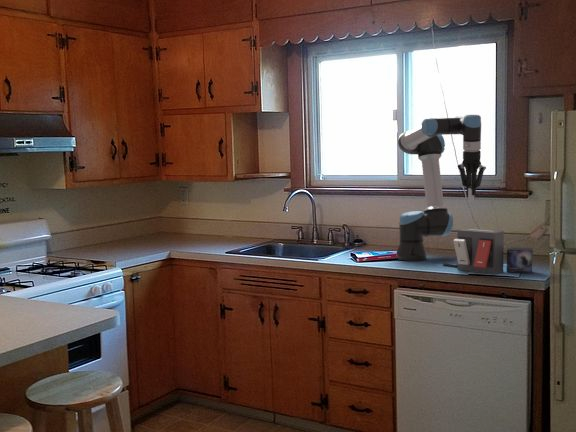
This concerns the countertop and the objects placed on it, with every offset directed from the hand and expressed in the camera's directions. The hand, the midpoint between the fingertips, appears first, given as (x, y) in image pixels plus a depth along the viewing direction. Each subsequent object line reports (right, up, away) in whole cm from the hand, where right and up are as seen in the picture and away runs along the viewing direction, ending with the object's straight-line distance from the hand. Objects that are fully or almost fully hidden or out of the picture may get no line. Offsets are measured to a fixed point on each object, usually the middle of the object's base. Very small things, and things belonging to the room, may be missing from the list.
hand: (471, 201), depth 294 cm
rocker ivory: (-4, -28, -4) cm, 28 cm away
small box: (+19, -31, -8) cm, 37 cm away
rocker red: (0, -28, -14) cm, 32 cm away
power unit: (-1, -31, 0) cm, 31 cm away
